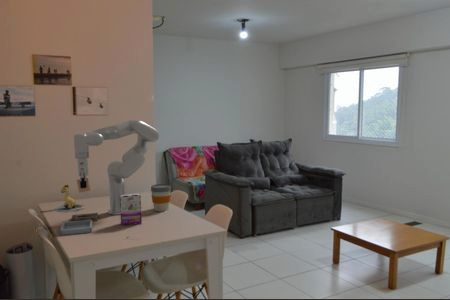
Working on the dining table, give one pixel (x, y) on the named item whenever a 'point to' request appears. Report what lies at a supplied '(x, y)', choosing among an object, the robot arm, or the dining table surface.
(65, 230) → the tray
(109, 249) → the dining table surface
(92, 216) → the brown piece
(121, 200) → the candy bar box
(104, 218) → the dining table surface
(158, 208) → the reusable coffee cup
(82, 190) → the tan rectangular block
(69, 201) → the stuffed giraffe
